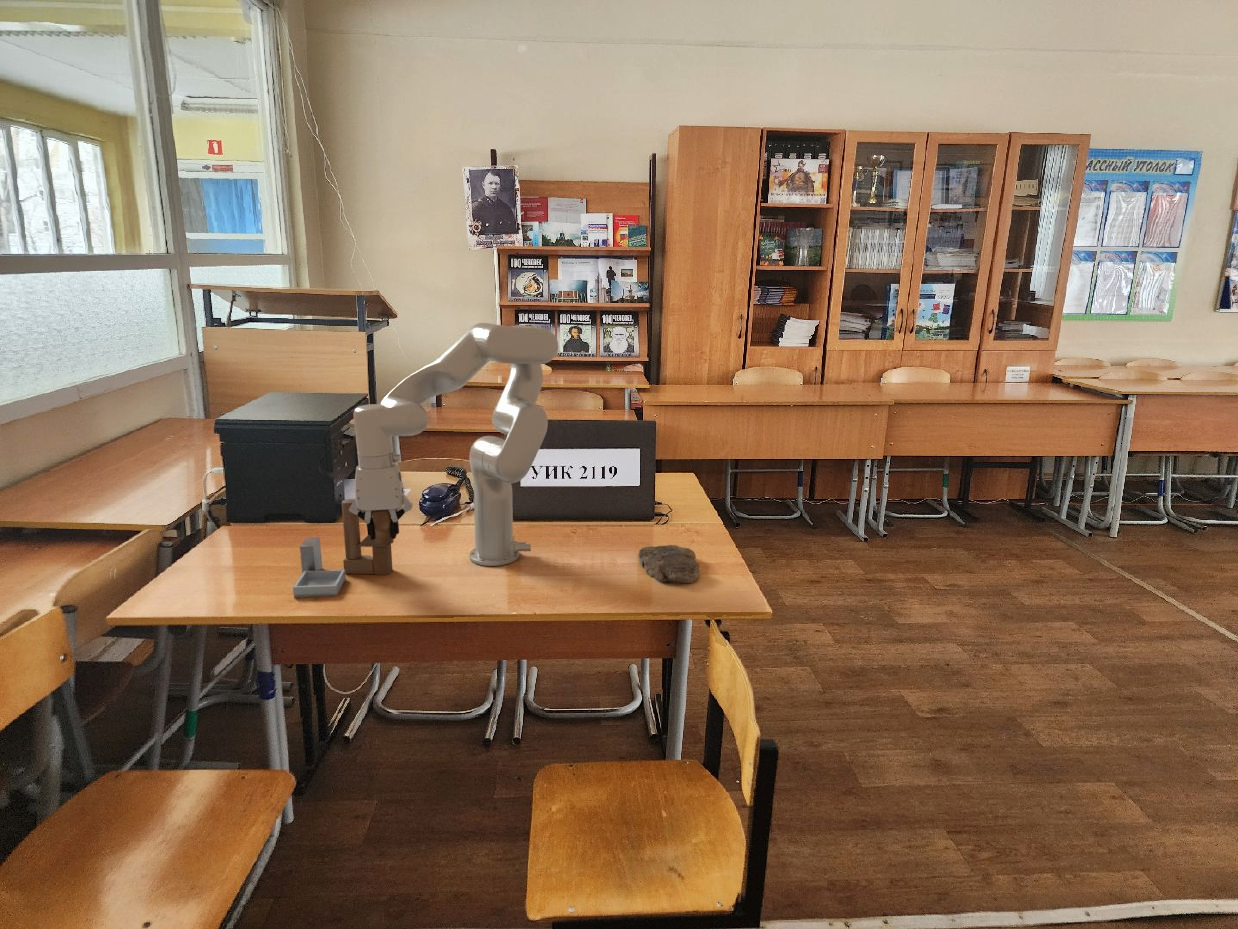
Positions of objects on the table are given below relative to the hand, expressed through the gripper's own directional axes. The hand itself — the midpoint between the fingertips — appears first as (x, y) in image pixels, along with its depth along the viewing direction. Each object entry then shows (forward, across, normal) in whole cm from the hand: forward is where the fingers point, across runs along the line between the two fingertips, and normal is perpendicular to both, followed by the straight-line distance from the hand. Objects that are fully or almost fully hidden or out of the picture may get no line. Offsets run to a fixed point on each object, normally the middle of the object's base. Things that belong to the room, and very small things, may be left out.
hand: (383, 536), depth 171 cm
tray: (+12, +15, +1) cm, 19 cm away
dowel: (+1, 0, 0) cm, 1 cm away
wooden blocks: (+12, +6, -8) cm, 16 cm away
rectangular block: (+12, +19, -8) cm, 24 cm away
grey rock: (+15, -68, -3) cm, 69 cm away
